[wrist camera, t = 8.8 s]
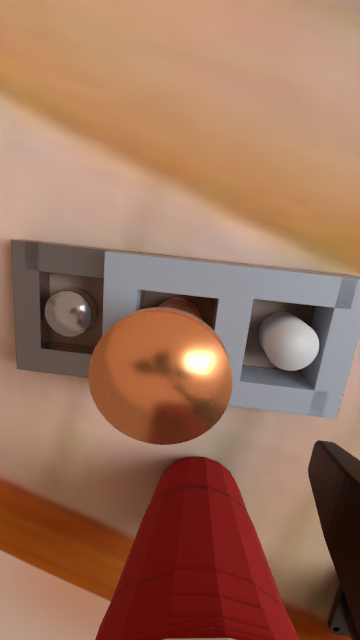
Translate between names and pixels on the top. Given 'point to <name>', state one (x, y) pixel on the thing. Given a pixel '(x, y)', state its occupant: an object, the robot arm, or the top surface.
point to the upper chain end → (274, 332)
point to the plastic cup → (196, 566)
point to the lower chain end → (56, 304)
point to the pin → (161, 374)
